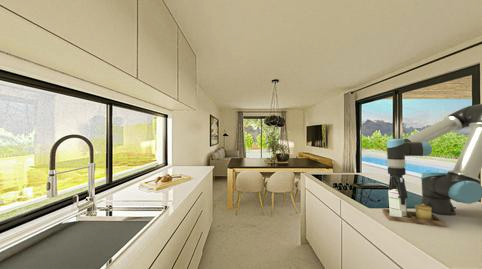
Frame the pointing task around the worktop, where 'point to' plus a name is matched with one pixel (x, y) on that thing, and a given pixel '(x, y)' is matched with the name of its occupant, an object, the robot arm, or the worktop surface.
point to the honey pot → (423, 212)
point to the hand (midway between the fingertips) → (397, 206)
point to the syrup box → (395, 204)
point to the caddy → (414, 219)
